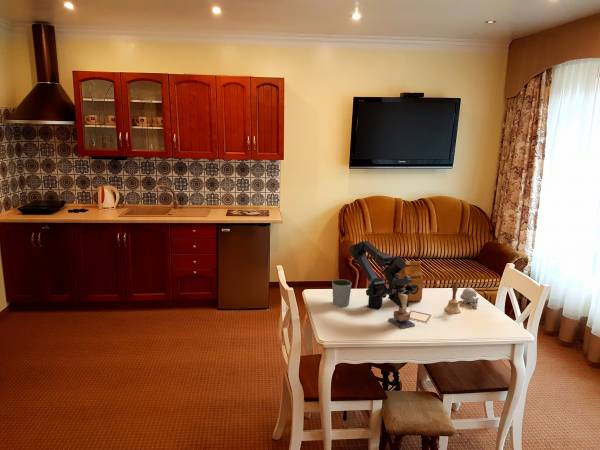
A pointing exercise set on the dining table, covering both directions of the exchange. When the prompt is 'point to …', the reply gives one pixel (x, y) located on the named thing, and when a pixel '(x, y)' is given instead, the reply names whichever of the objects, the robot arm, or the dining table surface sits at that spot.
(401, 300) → the stamp
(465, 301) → the round bodied animal figurine
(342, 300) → the grey cup
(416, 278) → the coffee package
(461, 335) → the dining table surface
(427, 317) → the marked card
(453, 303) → the hand bell
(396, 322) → the ink pad
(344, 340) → the dining table surface
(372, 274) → the robot arm
